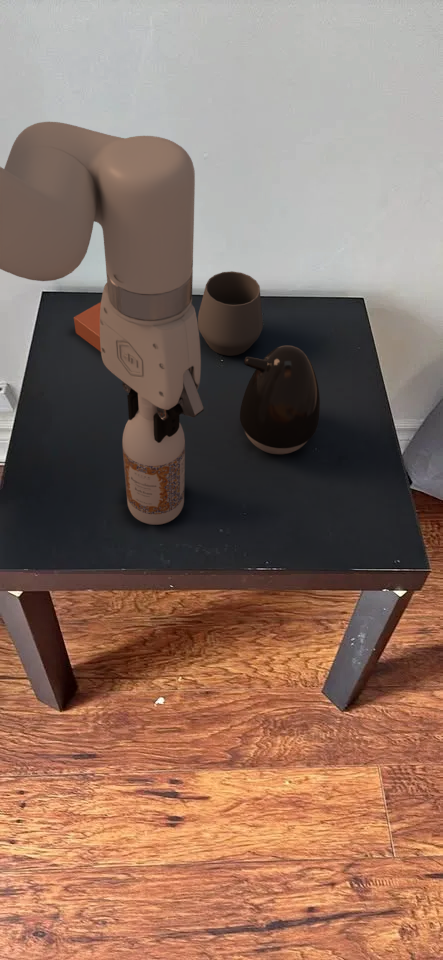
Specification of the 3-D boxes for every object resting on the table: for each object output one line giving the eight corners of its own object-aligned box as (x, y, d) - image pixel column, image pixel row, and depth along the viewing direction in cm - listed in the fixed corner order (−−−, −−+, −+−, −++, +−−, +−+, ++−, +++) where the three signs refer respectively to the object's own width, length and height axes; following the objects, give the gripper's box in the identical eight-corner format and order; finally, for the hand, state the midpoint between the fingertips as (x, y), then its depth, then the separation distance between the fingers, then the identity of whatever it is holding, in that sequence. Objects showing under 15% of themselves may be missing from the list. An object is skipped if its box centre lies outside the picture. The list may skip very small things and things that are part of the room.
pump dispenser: (232, 410, 103) (240, 324, 91) (306, 407, 104) (324, 321, 92) (240, 468, 96) (250, 383, 84) (320, 464, 97) (340, 380, 86)
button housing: (120, 367, 107) (119, 340, 103) (75, 333, 111) (72, 306, 107) (171, 335, 111) (171, 308, 108) (126, 303, 115) (124, 276, 111)
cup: (185, 349, 110) (186, 294, 102) (216, 314, 115) (219, 259, 107) (242, 373, 107) (247, 318, 99) (271, 336, 112) (278, 281, 105)
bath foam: (117, 515, 91) (105, 399, 75) (141, 474, 95) (135, 356, 79) (170, 534, 90) (169, 420, 74) (192, 491, 94) (195, 375, 78)
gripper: (57, 261, 68) (77, 402, 82) (185, 351, 61) (182, 487, 76) (119, 228, 71) (128, 369, 86) (246, 310, 65) (233, 448, 79)
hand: (154, 423), depth 81 cm, fingers closed on bath foam, 3 cm apart
